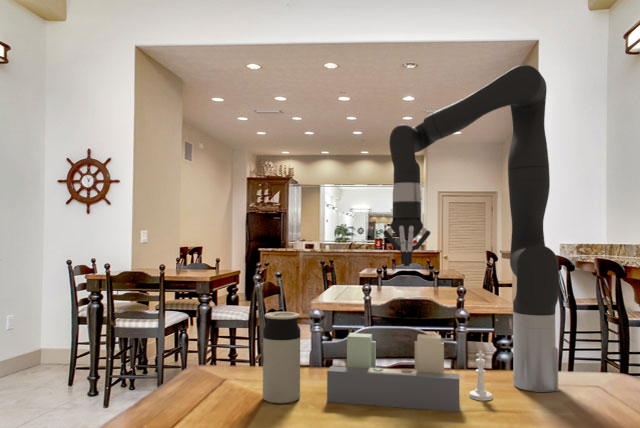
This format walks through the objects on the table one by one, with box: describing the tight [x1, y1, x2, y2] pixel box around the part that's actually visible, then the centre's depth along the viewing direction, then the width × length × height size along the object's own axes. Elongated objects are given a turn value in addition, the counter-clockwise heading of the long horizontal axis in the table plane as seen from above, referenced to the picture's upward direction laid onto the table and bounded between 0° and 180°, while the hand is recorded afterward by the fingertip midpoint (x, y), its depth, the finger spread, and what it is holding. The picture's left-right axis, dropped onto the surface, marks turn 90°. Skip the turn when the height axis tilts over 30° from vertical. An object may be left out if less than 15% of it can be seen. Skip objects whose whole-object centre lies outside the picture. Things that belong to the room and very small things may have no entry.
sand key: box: [414, 333, 445, 373], centre depth 117 cm, size 6×5×11 cm
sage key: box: [346, 332, 377, 368], centre depth 118 cm, size 6×5×11 cm
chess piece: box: [468, 350, 493, 402], centre depth 116 cm, size 5×5×10 cm
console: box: [326, 365, 460, 413], centre depth 115 cm, size 27×12×7 cm, turn 78°
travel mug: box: [262, 311, 301, 405], centre depth 114 cm, size 8×8×18 cm
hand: (406, 265), depth 141 cm, fingers closed
